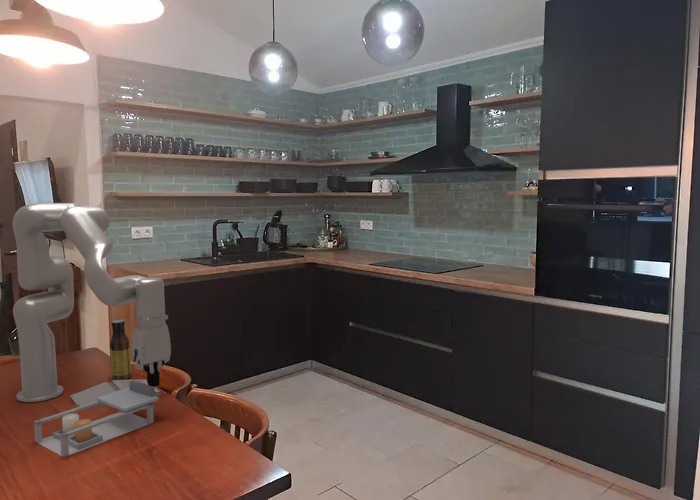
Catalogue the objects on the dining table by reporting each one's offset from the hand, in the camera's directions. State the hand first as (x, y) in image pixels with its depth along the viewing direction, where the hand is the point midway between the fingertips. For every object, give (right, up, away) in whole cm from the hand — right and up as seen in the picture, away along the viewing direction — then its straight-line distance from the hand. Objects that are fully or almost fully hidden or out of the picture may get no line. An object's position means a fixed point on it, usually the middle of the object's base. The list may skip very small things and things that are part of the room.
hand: (153, 385), depth 153 cm
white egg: (-15, -9, -15) cm, 23 cm away
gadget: (-17, -8, +14) cm, 23 cm away
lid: (-5, -2, -6) cm, 8 cm away
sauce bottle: (-22, -5, +31) cm, 38 cm away
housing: (-10, -9, -13) cm, 19 cm away
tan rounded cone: (-10, -9, -19) cm, 23 cm away
